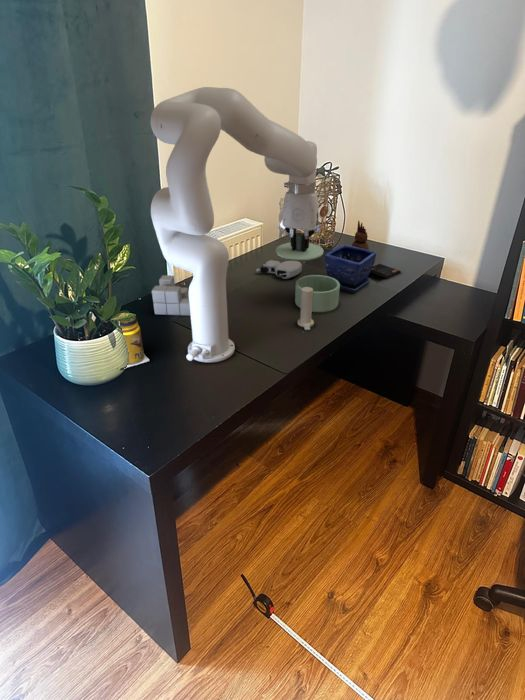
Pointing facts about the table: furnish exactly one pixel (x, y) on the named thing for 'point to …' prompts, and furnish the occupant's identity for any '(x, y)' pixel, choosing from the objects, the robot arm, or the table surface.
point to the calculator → (384, 271)
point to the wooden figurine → (360, 238)
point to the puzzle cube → (170, 298)
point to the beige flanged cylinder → (306, 308)
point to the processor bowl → (319, 292)
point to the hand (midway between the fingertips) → (299, 249)
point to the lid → (299, 250)
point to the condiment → (133, 341)
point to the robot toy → (282, 268)
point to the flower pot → (350, 266)
